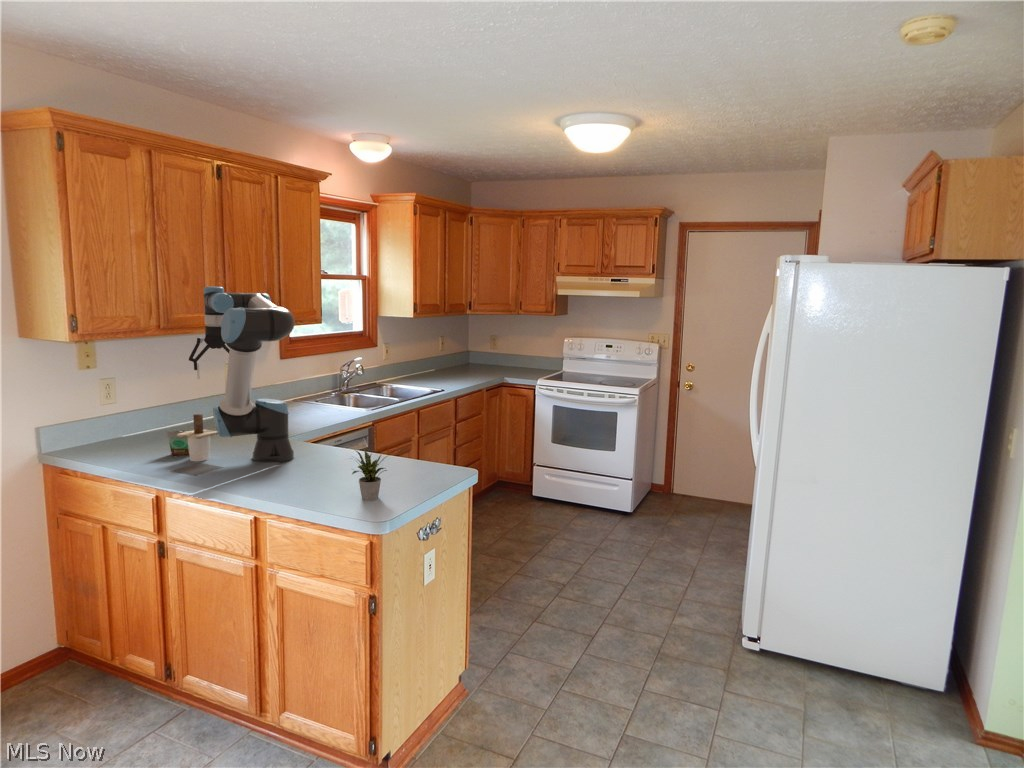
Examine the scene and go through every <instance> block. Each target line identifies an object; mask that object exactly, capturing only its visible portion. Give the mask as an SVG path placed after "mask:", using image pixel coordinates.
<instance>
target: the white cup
mask: <svg viewBox="0 0 1024 768" xmlns="http://www.w3.org/2000/svg"><path fill="white" fill-rule="evenodd" d="M187 439H188V449H189V455H188V456H189V461H191V462H204V461H207V460H210V453H211V436H209V437H205V438H201V439H193V438H187Z"/></svg>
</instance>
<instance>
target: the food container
mask: <svg viewBox="0 0 1024 768" xmlns="http://www.w3.org/2000/svg"><path fill="white" fill-rule="evenodd" d="M188 431H189V430H183V429H182V430H177V431H170V430H166V437H167V438H168V441H169V449H170V455H171V454H172V455H173V456H172V455H171V456H172V457H174V456H177V457H180V456H182V457H183V456H190V455H189V449H188V439H187V438H186V437H180V436H177V434H179V433H184V432H188Z"/></svg>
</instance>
